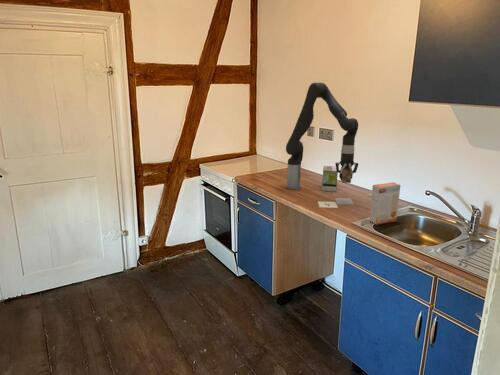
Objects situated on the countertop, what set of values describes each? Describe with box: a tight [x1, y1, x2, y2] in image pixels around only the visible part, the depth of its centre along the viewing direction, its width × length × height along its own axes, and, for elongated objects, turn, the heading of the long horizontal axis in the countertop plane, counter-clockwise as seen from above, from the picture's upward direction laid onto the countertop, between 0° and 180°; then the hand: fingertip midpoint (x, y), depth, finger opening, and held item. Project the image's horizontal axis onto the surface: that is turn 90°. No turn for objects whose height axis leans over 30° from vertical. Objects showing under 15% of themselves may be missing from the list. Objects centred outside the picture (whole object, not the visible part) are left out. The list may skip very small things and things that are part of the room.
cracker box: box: [369, 181, 401, 225], centre depth 201 cm, size 14×6×21 cm, turn 111°
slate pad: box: [334, 197, 355, 206], centre depth 236 cm, size 10×12×1 cm
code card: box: [317, 201, 339, 209], centre depth 231 cm, size 11×11×1 cm
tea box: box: [321, 165, 339, 192], centre depth 263 cm, size 15×10×15 cm
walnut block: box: [339, 168, 353, 184], centre depth 231 cm, size 5×7×8 cm
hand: (345, 179), depth 232 cm, fingers closed on walnut block, 5 cm apart
